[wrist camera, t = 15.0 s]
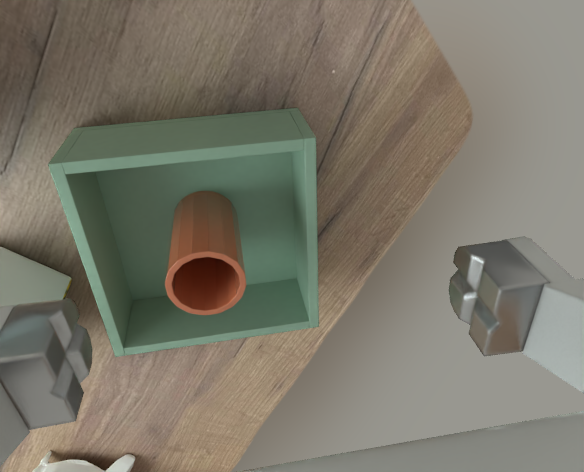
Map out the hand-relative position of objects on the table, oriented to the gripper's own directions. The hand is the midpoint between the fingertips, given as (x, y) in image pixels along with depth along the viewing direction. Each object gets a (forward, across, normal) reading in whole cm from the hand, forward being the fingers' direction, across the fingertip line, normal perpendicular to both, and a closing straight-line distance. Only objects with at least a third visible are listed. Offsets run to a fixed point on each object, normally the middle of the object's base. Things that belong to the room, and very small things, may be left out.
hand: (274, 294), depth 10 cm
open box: (+27, +4, +13) cm, 30 cm away
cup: (+26, +4, +13) cm, 29 cm away
